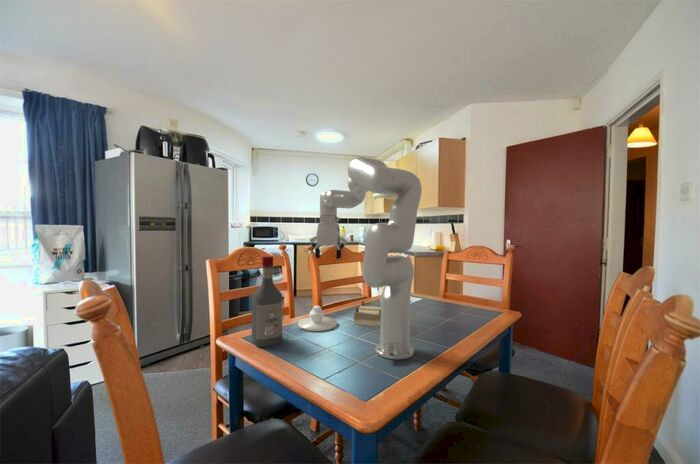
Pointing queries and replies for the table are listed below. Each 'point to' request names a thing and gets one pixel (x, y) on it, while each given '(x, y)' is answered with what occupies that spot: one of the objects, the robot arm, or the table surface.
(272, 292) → the liquor
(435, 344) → the table surface
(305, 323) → the white plate
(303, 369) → the table surface
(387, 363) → the table surface
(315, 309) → the white rounded piece
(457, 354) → the table surface
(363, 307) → the pegged square board
